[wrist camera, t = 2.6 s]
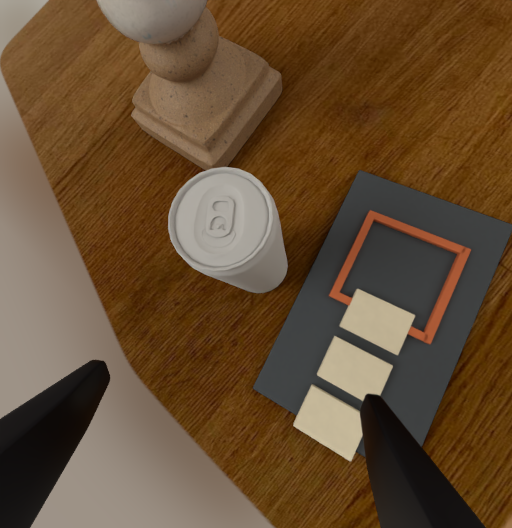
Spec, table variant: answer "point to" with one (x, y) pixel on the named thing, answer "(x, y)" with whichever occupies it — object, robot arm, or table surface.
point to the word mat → (382, 312)
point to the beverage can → (229, 229)
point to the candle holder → (194, 79)
